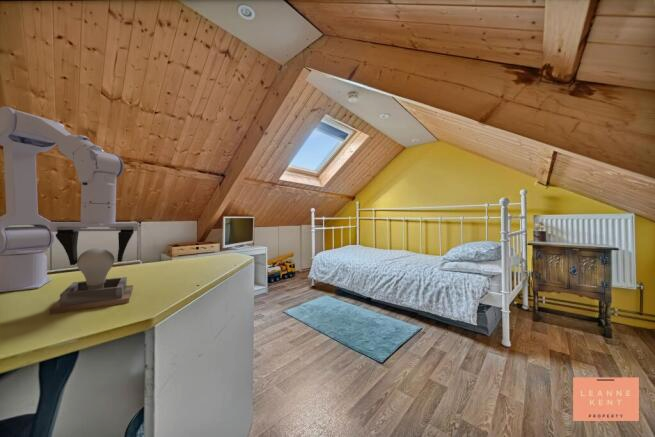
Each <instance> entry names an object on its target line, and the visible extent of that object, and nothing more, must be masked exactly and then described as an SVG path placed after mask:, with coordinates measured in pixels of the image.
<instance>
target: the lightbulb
mask: <svg viewBox="0 0 655 437" xmlns="http://www.w3.org/2000/svg"><path fill="white" fill-rule="evenodd" d="M114 263H115V256H114V254H113V253H112V251H110V250H108V249H106V248H103V247H94V248H90V249H87V250H85V251H83V252H82V253H81V254H80V255H79V256H78V259H77V264H76V266H77V268H78V269H79V271H80V272H81V274H83V277H84V278H85V281H86V284H87V285H88V290H92V289H101V288H104V283H105V281H106V279H107V276H108V274H109V272H110V270H111V269H112V267H113V266H114Z"/></svg>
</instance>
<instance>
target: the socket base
mask: <svg viewBox="0 0 655 437" xmlns="http://www.w3.org/2000/svg"><path fill="white" fill-rule="evenodd" d="M127 281H128V280H127V276H124V277H123V276H122V277H114V278H106V281H105V283H104V288H101V289H92V290H88V285H87V284H86V280H84V281H83V280H82V281H75V282H72V283H71V284H70V285H69V286H67V288H65V289H64V290H63V291H61V293H60V294H59V299H58V300H57V301H56V302H55V303H54V304H53V305H52V306H51V307H50V308H49V309H48V315H53V314H60V313H68V312H72V311H73V312H74V311H81V310H87V309H93V308H102V307H107V306H115V305H122V304H129V302H130V300H131V297H132V293H133V290H134V285H132V284H130V285H129V284H127Z"/></svg>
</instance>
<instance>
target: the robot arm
mask: <svg viewBox="0 0 655 437" xmlns="http://www.w3.org/2000/svg"><path fill="white" fill-rule="evenodd" d="M0 146H2V147H3V149H2V150H3V164H4V165H3V166H4V188H5V189H4V190H5V206H6V207H5V212H6V213H5V214H2V215H1V216H0V293H3V292H5V293H6V292H12V291H13V292H14V291H23V290H33V289H39V288H41V287H43V286H44V285H45V284H46V283H48V282H50V281H51V280H53V277H48V256H47V255H46V253H45V252H48V251H49V248H51V247H52V246H53V244H54V243H55V240H56V239H57V240H58V242H59V244H60V245H62V247H63V249H64V251H65V253H66V255H67V258H68V261H69V265H70V266H75V265H77V260H78V258H79V256H78V240H79V234H80V233H79V232H117V233H118V234H117V235H118V238H117V239H118V252H117V260H116V261H117V263H121V262H122V261H123V258H124V253H125V250H126V248H127V246H128V244H129V242H130V239H131V238H132V237H133V234H134V232H139V231H140V223H139V222H116V220H117V219H116V216H117V214H116V213H117V209H116V208H117V178H120V176H122V174H123V173H124V172H123V171H124V168H125V167H124V162H123V159H122V158H121V156H120V155H119V154H117V153H109V152H106V151H105V150H103V148H102V147H101V146H100V145H96V144H94V143H92V142H91V141H90V138H89V137H88V136H86V135H83V134H72V133H71V132H69V131H68V130H67V129H65V124H62V123H61V122H59V121H57V120H52V119H48V118H46V117H42V116H38V115H34V114H32V113H28V112H24V111H21V110H18V109H14V108H12V107H10V106H1V107H0ZM56 146H57V149H58V151H59V152H60V153H61V154H62V155H63V156H65V157H66V158H68V160H70V161H72V162H73V165H74V170H76V173H77V179H78V182H80V184H81V186H80V187H81V188H80V190H81V192H80V221H76V222H75V221H71V222H69V221H67V222H63V221H62V222H61V221H60V222H59V221H58V222H57V221H56V222H54V221H51V220H49V219H47V218H45V217H43V216H41V215H40V214H39V206H38V205H39V204H38V203H39V202H38V200H39V199H38V183H37V182H38V179H37V178H38V177H37V158H36V157H37V155H38V154H39V153H46V152H49V151H50V150H52V149H53V148H55V147H56ZM27 225H28V226H27ZM10 226H11V227H10ZM13 226H14V227H13Z"/></svg>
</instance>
